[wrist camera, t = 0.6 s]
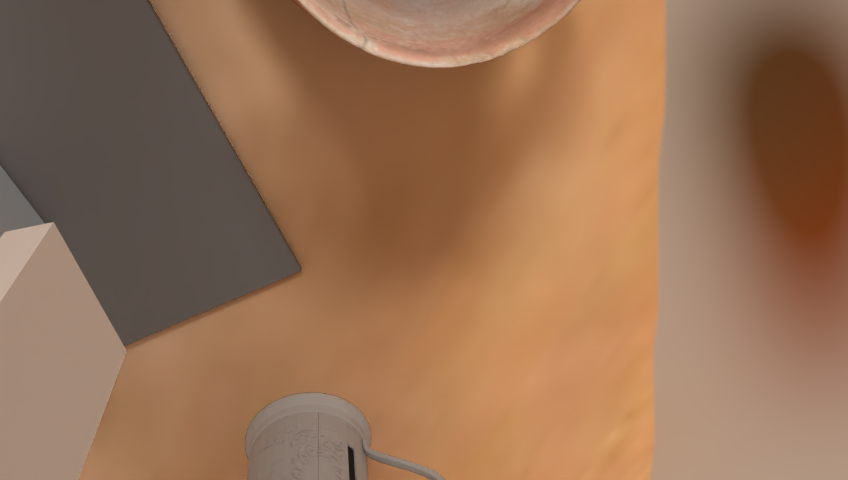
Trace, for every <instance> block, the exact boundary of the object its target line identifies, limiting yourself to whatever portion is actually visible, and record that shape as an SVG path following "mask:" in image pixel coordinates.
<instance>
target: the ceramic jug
mask: <svg viewBox="0 0 848 480" xmlns="http://www.w3.org/2000/svg"><path fill="white" fill-rule="evenodd" d="M293 1H294V2H295V3H296V4H297V5H299V6H300V7H301V8H302V9H303V10H305V11H306V12H307V13H309V14H310V15H311V16H313V17H314V18H315V19H316V20H317V21H318V22H319V23H321V24H322V25H323V26H324V27H326V28H327V29H328V30H329V31H331V32H332V33H334V34H335V35H337V36H338V37H340V38H341V39H343V40H345V41H347V42H348V43H350V44H352V45H354V46H355V47H357V48H359V49H361V50H363V51H365V52H367V53H369V54H371V55H373V56H376V57H379V58H382V59H385V60H388V61H392V62H396V63H400V64H404V65H411V66H416V67H426V68H452V67H460V66H466V65H470V64H476V63H481V62H485V61H489V60H492V59H494V58H497V57H500V56H503V55H505V54H506V53H508V52H510V51H512V50H515V49H517V48H520V47H522V46H523V45H525V44H527V43H529V42H531V41H533V40H534V39H536V38H538V37H539V36H540V35H541V34H542V33H544V32H545V31H546V30H548V29H549V28H551V27H553V26H554V25H555V24H556V23H557V22H559V21H560V20H561V19H562V18H563V17H564V16H566V15H567V14H568V12H570V11H571V10H572V9H573V8H574V7H575V5H576V4H577V3H578V2H579V1H580V0H293Z"/></svg>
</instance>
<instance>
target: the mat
mask: <svg viewBox="0 0 848 480" xmlns="http://www.w3.org/2000/svg"><path fill="white" fill-rule="evenodd" d="M0 165H1V167H2V168H3V169H4V171H5V172H6V173H7V175H8V176H9V177H10V179H11V180H12V181H13V182H14V184H15V185H16V186H17V188H18V189H19V190H20V192H21V193H22V194H23V196H24V197H25V198H26V199H27V201H28V202H29V203H30V205H31V206H32V207H33V209H34V210H35V211H36V212H37V214H38V215H39V216H40V218H41V219H42V220H43V222H44V223H45V224H46V223H51V222H54V223H55V225H56V227H57V229H58V231H59V232H60V234H61V236H62V238H63V239H64V241H65V243H66V245H67V246H68V248H69V250H70V252H71V253H72V255H73V257H74V259H75V261H76V262H77V264H78V266H79V268H80V269H81V271H82V273H83V275H84V276H85V278H86V280H87V282H88V283H89V285H90V287H91V289H92V291H93V292H94V294H95V296H96V298H97V299H98V301H99V303H100V305H101V306H102V308H103V310H104V312H105V313H106V315H107V317H108V319H109V321H110V322H111V324H112V326H113V328H114V329H115V331H116V333H117V335H118V336H119V338H120V340H121V342H122V343H123V345H124V346H125V345H128V344H130V343H132V342H135V341H137V340H140V339H142V338H144V337H147V336H149V335H151V334H154V333H156V332H158V331H161V330H163V329H165V328H168V327H170V326H172V325H175V324H177V323H180V322H182V321H184V320H187V319H189V318H191V317H194V316H196V315H198V314H201V313H203V312H205V311H208V310H210V309H212V308H215V307H217V306H219V305H222V304H224V303H227V302H229V301H231V300H234V299H236V298H238V297H241V296H243V295H245V294H248V293H250V292H252V291H255V290H257V289H259V288H262V287H264V286H267V285H269V284H271V283H274V282H276V281H278V280H281V279H283V278H285V277H288V276H290V275H292V274H295V273H297V272H299V271H301V266H300V265H299V263H298V261H297V259H296V258H295V256H294V254H293V252H292V251H291V249H290V247H289V245H288V244H287V242H286V240H285V238H284V237H283V235H282V233H281V231H280V230H279V228H278V226H277V224H276V223H275V221H274V219H273V217H272V215H271V214H270V212H269V210H268V208H267V207H266V205H265V203H264V201H263V200H262V198H261V196H260V194H259V193H258V191H257V189H256V187H255V186H254V184H253V182H252V180H251V179H250V177H249V175H248V173H247V172H246V170H245V168H244V166H243V165H242V163H241V161H240V159H239V158H238V156H237V154H236V152H235V151H234V149H233V147H232V145H231V144H230V142H229V140H228V138H227V137H226V135H225V133H224V131H223V130H222V128H221V126H220V124H219V123H218V121H217V119H216V117H215V116H214V114H213V112H212V110H211V109H210V107H209V105H208V103H207V102H206V100H205V98H204V96H203V95H202V93H201V91H200V89H199V88H198V86H197V84H196V82H195V81H194V79H193V77H192V75H191V74H190V72H189V70H188V68H187V67H186V65H185V63H184V61H183V60H182V58H181V56H180V54H179V53H178V51H177V49H176V47H175V46H174V44H173V42H172V40H171V39H170V37H169V35H168V33H167V32H166V30H165V28H164V26H163V25H162V23H161V21H160V19H159V18H158V16H157V14H156V12H155V11H154V9H153V7H152V5H151V4H150V2H149V0H0Z"/></svg>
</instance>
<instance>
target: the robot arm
mask: <svg viewBox="0 0 848 480" xmlns="http://www.w3.org/2000/svg"><path fill="white" fill-rule="evenodd" d="M126 352H127V350H126V349H125V347H124V345H123V343H122V342H121V340H120V338H119V336H118V335H117V333H116V331H115V329H114V328H113V326H112V324H111V322H110V321H109V319H108V317H107V315H106V313H105V312H104V310H103V308H102V306H101V305H100V303H99V301H98V299H97V298H96V296H95V294H94V292H93V291H92V289H91V287H90V285H89V283H88V282H87V280H86V278H85V276H84V275H83V273H82V271H81V269H80V268H79V266H78V264H77V262H76V261H75V259H74V257H73V255H72V253H71V252H70V250H69V248H68V246H67V245H66V243H65V241H64V239H63V238H62V236H61V234H60V232H59V231H58V229H57V227H56V225H55V223H54V222H51V223H46V224H41V225H36V226H31V227H27V228H22V229H17V230H12V231H7V232H4V234H3V235H2V236H1V238H0V480H79V478H80V475H81V472H82V470H83V467H84V464H85V462H86V459H87V456H88V454H89V451H90V448H91V446H92V443H93V440H94V438H95V435H96V432H97V430H98V427H99V424H100V422H101V419H102V416H103V414H104V411H105V408H106V406H107V403H108V400H109V398H110V395H111V392H112V390H113V387H114V384H115V382H116V379H117V376H118V374H119V371H120V368H121V365H122V363H123V360H124V357H125V355H126Z"/></svg>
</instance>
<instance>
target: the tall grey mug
mask: <svg viewBox="0 0 848 480" xmlns="http://www.w3.org/2000/svg"><path fill="white" fill-rule="evenodd" d="M370 445H371V430H370V427H369V424H368V422H367V420H366V418H365V417H364V415H363V414H362V413H361V412H360V411H359V409H358V408H356V407H355V406H354V405H352V404H351V403H350V402H348V401H346V400H344V399H342V398H339V397H336V396H333V395H330V394H324V393H299V394H294V395H290V396H286V397H283V398H281V399H279V400H276V401H274V402H273V403H271V404H269V405H268V406H266V407H265V408H264V409H262V410H261V411H260V412H259V413H258V414H257V415H256V416H255V418H254V419H253V420H252V422H251V424H250V425H249V427H248V430H247V433H246V437H245V449H246V454H247V457H248V459H249V468H248V476H247V480H368V469H367V458H366V457H367V456H368V457H369V458H371V459H373V460H376V461H378V462H381V463H384V464H387V465H390V466H394V467H397V468H401V469H405V470H408V471H411V472H414V473H416V474H419V475H422V476H424V477H426V478H428V479H430V480H446V479H444V478H443V477H442V476H441V475H439V474H438V473H437V472H436V471H434V470H432V469H430V468H427V467H425V466H422V465H419V464H416V463H413V462H410V461H407V460H405V459H401V458H397V457H393V456H390V455H386V454H383V453H380V452H377V451H374V450H372V449H370Z"/></svg>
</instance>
